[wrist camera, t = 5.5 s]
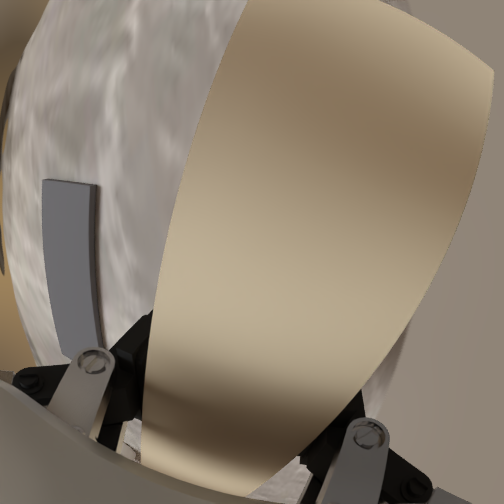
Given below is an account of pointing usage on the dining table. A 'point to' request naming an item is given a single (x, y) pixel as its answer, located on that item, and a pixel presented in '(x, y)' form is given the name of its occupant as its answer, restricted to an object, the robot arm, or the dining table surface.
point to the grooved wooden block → (304, 229)
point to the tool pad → (71, 263)
